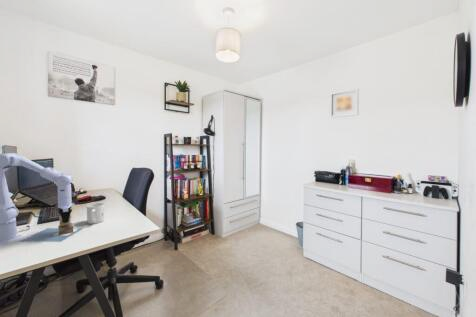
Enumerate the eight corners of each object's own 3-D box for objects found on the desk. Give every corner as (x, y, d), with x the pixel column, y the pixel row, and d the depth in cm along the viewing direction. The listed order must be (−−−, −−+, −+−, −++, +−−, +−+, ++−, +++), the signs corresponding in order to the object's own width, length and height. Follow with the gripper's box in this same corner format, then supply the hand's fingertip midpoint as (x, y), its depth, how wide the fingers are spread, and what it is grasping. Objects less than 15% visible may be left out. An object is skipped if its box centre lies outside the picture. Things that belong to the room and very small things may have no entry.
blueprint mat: (19, 242, 101) (19, 241, 101) (47, 228, 117) (47, 228, 117) (61, 242, 102) (61, 241, 102) (83, 229, 118) (83, 228, 118)
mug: (89, 220, 131) (88, 203, 130) (105, 218, 135) (105, 202, 134) (84, 227, 120) (83, 209, 119) (102, 225, 124) (101, 207, 123)
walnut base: (58, 235, 109) (58, 229, 108) (58, 231, 113) (58, 225, 113) (73, 232, 113) (73, 226, 112) (72, 228, 117) (72, 222, 117)
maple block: (59, 225, 109) (59, 216, 109) (59, 223, 113) (59, 214, 112) (70, 223, 112) (70, 214, 112) (70, 221, 116) (69, 212, 115)
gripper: (75, 198, 109) (75, 223, 110) (73, 193, 120) (73, 215, 120) (57, 200, 104) (58, 226, 105) (57, 195, 115) (58, 218, 116)
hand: (65, 221), depth 112 cm, fingers closed on maple block, 4 cm apart
